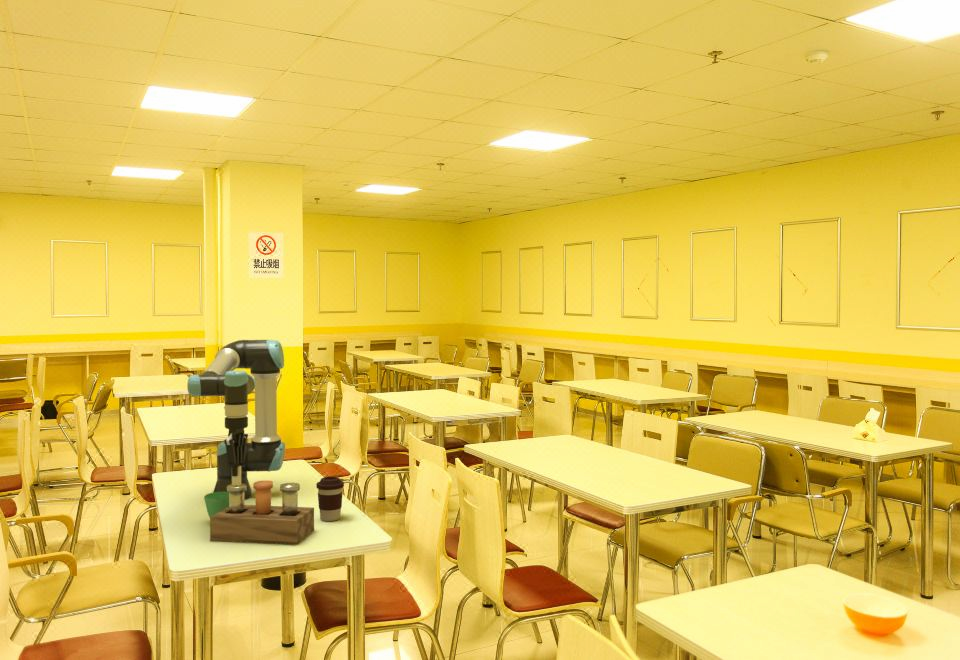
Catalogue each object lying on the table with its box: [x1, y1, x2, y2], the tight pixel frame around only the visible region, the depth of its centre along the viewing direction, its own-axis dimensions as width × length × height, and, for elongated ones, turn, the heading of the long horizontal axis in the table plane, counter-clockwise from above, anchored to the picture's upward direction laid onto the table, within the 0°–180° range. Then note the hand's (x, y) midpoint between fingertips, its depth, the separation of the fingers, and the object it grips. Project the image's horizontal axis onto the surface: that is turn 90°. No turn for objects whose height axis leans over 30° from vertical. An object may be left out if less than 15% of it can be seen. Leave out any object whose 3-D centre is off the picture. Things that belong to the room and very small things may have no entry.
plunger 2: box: [279, 482, 301, 516], centre depth 244 cm, size 6×6×11 cm
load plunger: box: [252, 480, 274, 515], centre depth 245 cm, size 6×6×11 cm
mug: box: [203, 492, 229, 519], centre depth 262 cm, size 15×10×10 cm
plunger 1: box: [227, 484, 247, 514], centre depth 247 cm, size 6×6×11 cm
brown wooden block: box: [209, 504, 315, 546], centre depth 246 cm, size 16×30×8 cm, turn 83°
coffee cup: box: [315, 476, 345, 522], centre depth 265 cm, size 10×10×15 cm
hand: (236, 485), depth 246 cm, fingers closed
